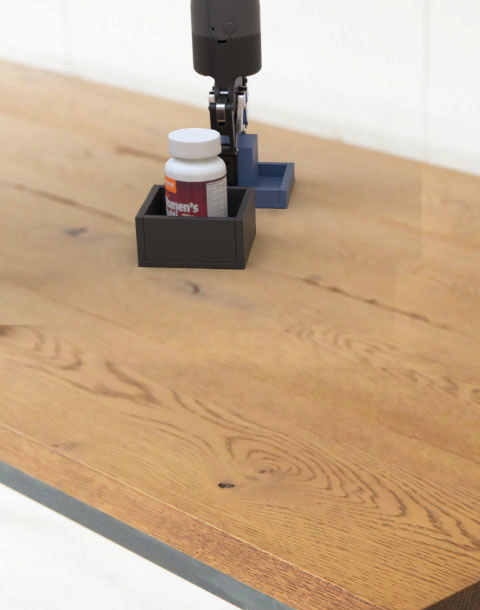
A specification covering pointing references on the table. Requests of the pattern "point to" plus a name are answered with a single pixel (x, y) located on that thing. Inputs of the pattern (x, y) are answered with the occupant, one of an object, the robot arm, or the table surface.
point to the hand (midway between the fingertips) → (231, 178)
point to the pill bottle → (195, 174)
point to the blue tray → (274, 184)
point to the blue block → (246, 159)
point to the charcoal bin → (196, 233)
